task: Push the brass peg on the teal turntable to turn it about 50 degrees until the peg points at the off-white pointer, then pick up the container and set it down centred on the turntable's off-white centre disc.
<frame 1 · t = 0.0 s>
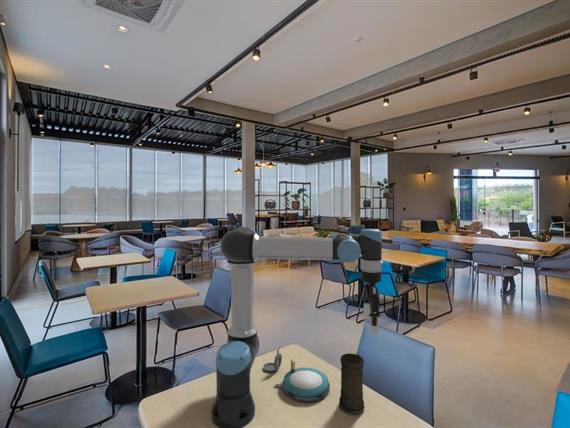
hand: (370, 326, 116), 28 cm above the table, tool pointing down, fingers open, 13 cm apart
pocket watch: (272, 369, 138), on the table
turntable: (305, 375, 124), point 5 cm above the table, hinge at 0.0°
container: (351, 407, 113), on the table
turntable base: (305, 387, 124), on the table
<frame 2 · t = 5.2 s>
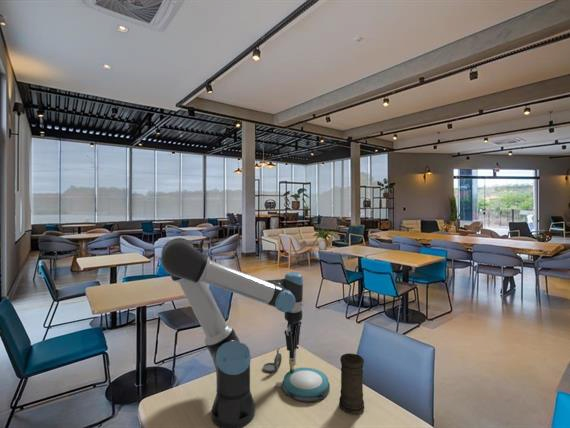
hand: (292, 364, 131), 6 cm above the table, tool pointing down, fingers closed
turntable: (305, 375, 124), point 5 cm above the table, hinge at 4.1°, touching gripper
everything else where it was.
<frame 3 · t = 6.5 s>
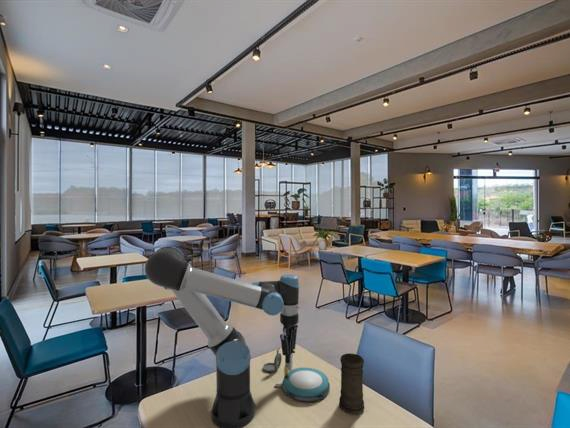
hand: (288, 369, 127), 6 cm above the table, tool pointing down, fingers closed
turntable: (305, 375, 124), point 5 cm above the table, hinge at 38.2°, touching gripper
everything else where it was.
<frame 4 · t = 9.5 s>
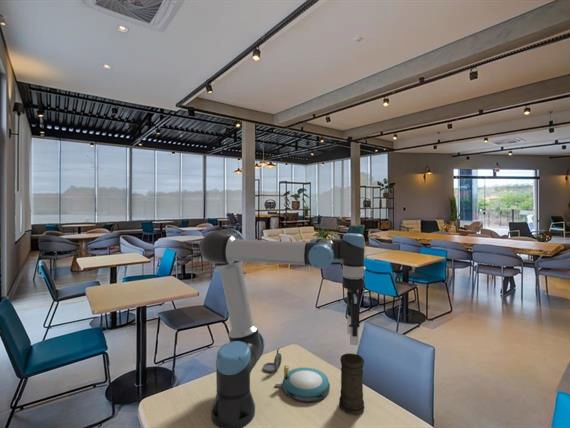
hand: (352, 338, 112), 25 cm above the table, tool pointing down, fingers open, 8 cm apart
turntable: (305, 375, 124), point 5 cm above the table, hinge at 41.6°
everything else where it was.
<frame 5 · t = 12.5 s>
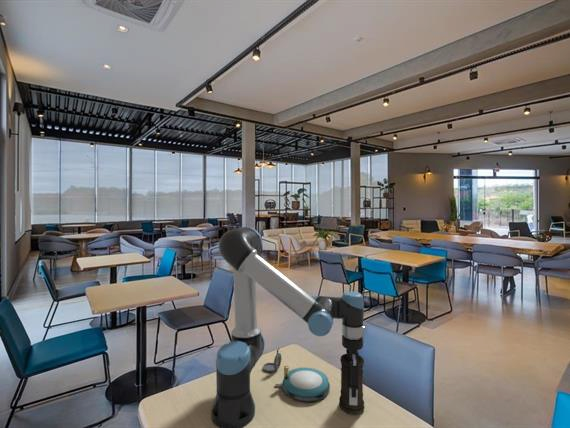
hand: (351, 396, 113), 4 cm above the table, tool pointing down, fingers closed on container, 8 cm apart
container: (351, 407, 113), on the table, touching gripper
everything else where it was.
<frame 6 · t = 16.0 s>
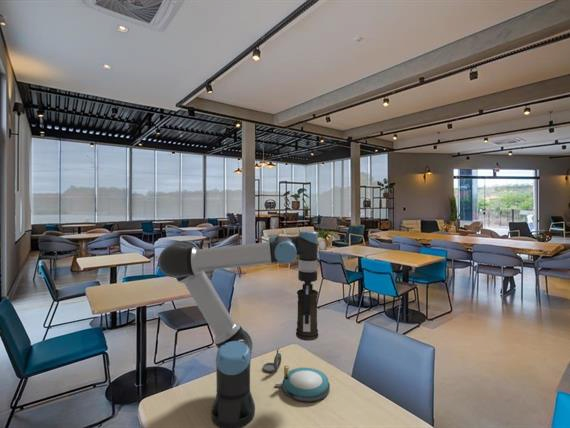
hand: (307, 326, 123), 25 cm above the table, tool pointing down, fingers closed on container, 8 cm apart
container: (307, 336, 123), point 21 cm above the table, touching gripper
everything else where it was.
when the fingers open (8 cm above the table, at t = 19.7 s): container drops 1 cm, resting on turntable.
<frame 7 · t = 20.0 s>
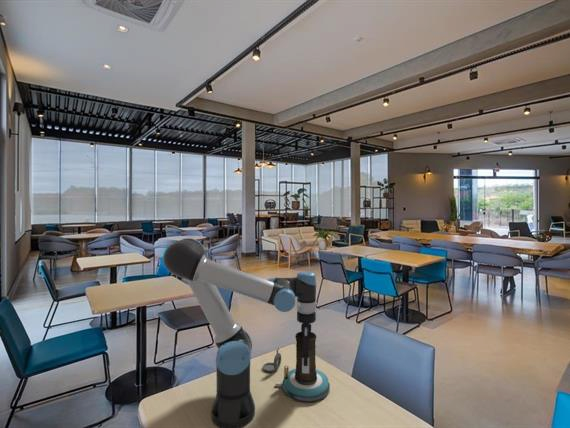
hand: (306, 364, 124), 9 cm above the table, tool pointing down, fingers open, 11 cm apart
turntable: (305, 375, 124), point 5 cm above the table, hinge at 41.6°, touching container
container: (305, 379, 124), point 3 cm above the table, touching turntable
everything else where it was.
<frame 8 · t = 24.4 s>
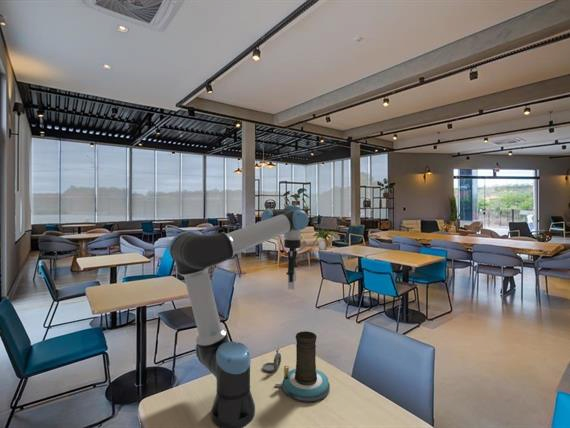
hand: (292, 285, 141), 37 cm above the table, tool pointing down, fingers open, 13 cm apart
nothing on the table moved.
at the end: turntable at +42° (first picture: +0°); container 0.0 cm off-centre on the turntable, point 3.2 cm above the turntable's base; container tilted 0° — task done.
